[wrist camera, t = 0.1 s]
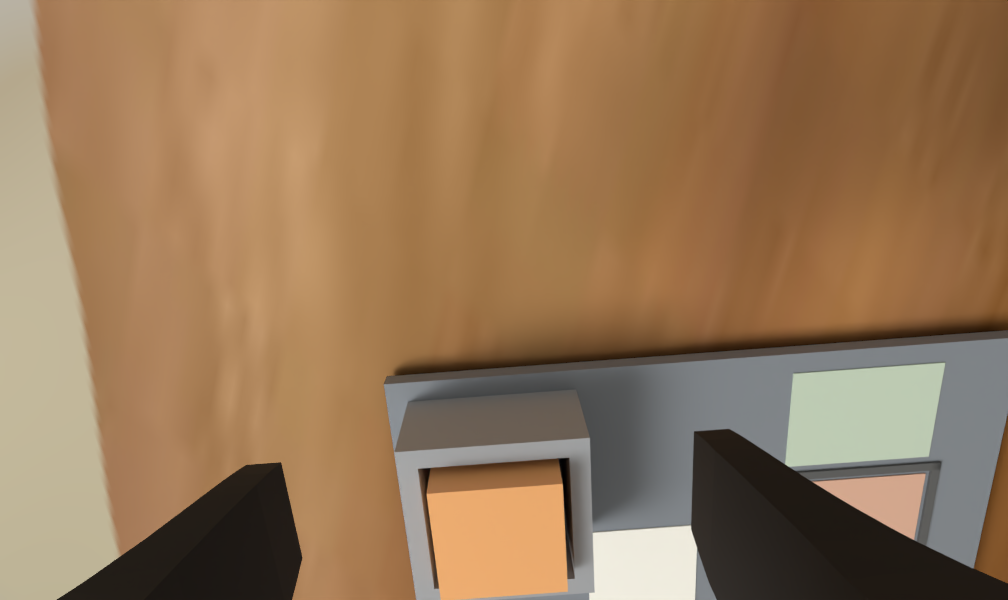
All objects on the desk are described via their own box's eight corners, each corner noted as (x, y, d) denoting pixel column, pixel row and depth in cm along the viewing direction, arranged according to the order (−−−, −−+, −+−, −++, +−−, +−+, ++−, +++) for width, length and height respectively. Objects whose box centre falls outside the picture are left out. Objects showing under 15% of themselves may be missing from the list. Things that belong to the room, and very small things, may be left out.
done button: (559, 536, 21) (568, 591, 18) (446, 544, 21) (440, 600, 18) (554, 437, 19) (562, 483, 17) (434, 446, 19) (426, 493, 17)
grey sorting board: (955, 588, 24) (1030, 670, 21) (424, 627, 24) (413, 714, 21) (1009, 330, 21) (1111, 377, 17) (386, 376, 21) (366, 432, 17)
